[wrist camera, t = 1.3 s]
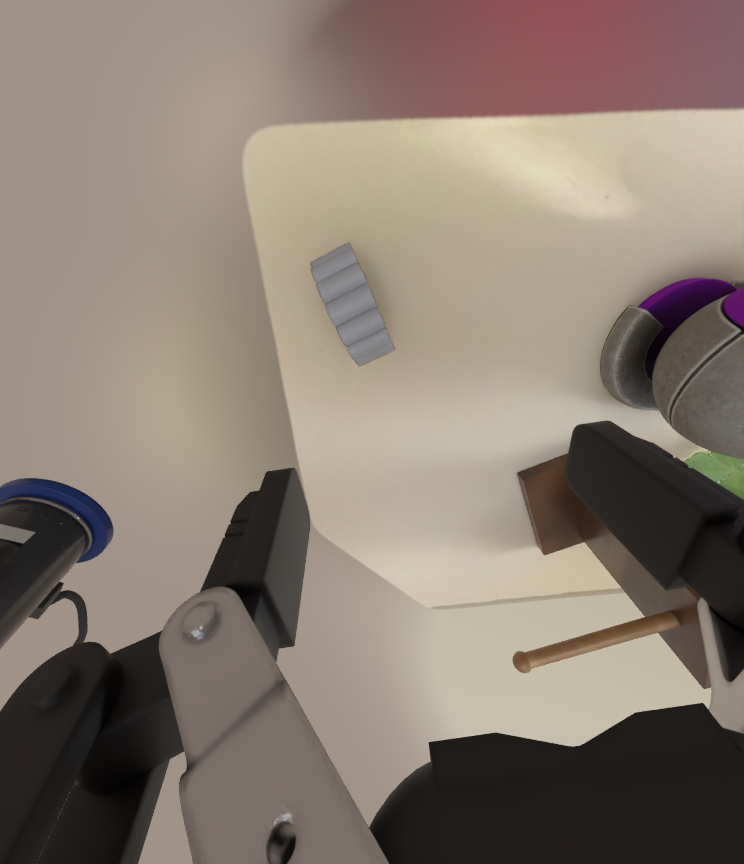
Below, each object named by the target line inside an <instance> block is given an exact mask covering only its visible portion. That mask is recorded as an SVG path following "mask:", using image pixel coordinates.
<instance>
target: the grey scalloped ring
mask: <svg viewBox="0 0 744 864" xmlns="http://www.w3.org/2000/svg"><path fill="white" fill-rule="evenodd" d="M311 267H312V268H311V272H312V275H313V277H314V279H315V281H316V286H317V289H318V291H319V294H320V296H321V298H322V300H323V301H324V303H325V307H326V310H327V312H328V314H329V316H330V318H331V320H332V322H333V324H334V325H335V327H336V329H337V332H338V334H339V336H340V338H341V340H342V342H343V344H344V345H345V346H346V347H347V349H348V351H349V353H350V355H351V357H352V359H353V360H355V361H356V363H357V365H358V366H359V367H360V366H362V365H364V364H366V363H369V362H371V361H373V360H375V359H377V358H379V357H381V356H384V355H386V354H388V353H390V352H392V351H394V350H395V347H394V345H393V343H392V340H391V337H390V335H389V333H388V330H387V328H386V326H385V323H384V321H383V318H382V316H381V314H380V311H379V309H378V307H377V304H376V302H375V299H374V297H373V295H372V292H371V290H370V288H369V286H368V283H367V281H366V279H365V276H364V274H363V272H362V269H361V267H360V265H359V263H358V260H357V258H356V256H355V253H354V251H353V249H352V247H351V245H350V243H349V242H348V243H346V244H344V245H342V246H341V247H339V248H337V249H335V250H333V251H331V252H329V253H328V254H326V255H324V256H322V257H320V258H318V259H316V260H315V261H313V262H311Z"/></svg>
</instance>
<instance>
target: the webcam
mask: <svg viewBox="0 0 744 864" xmlns="http://www.w3.org/2000/svg"><path fill="white" fill-rule="evenodd" d="M601 375H602V379H603V382H604V385H605V387H606V389H607V390H608V392H609V393H610V394H611V395H612V396H613V397H614V398H616V399H617V400H619V401H621V402H623V403H624V404H626V405H628V406H631V407H634V408H637V409H643V410H660V412H661V414H662V416H663V417H664V418H665V420H666V421H667V422H668V423H669V425H670V426H671V427H672V428H673V429H674V430H676V432H678V433H679V434H680V435H682V436H683V437H685V438H686V439H688V440H690V441H691V442H693V443H695V444H696V445H698V446H701V447H703V448H705V449H708V450H710V451H712V452H715V453H719V454H722V455H726V456H729V457H733V458H738V459H743V460H744V281H734V282H733V283H732V284H729V283H728V282H725V281H721V280H717V279H703V278H695V279H688V280H683V281H680V282H677V283H674V284H672V285H670V286H668V287H666V288H664V289H662V290H660V291H659V292H657V293H655V294H654V295H652V296H651V297H650V298H648V299H647V300H646V301H645V302H644V303H643V304H641V305H640V306H639V307H634V306H629V307H628V308H627V309H626V311H625V312H624V313H623V314H622V316H621V317H620V318H619V319H618V321H617V323H616V324H615V326H614V327H613V329H612V331H611V333H610V335H609V337H608V339H607V341H606V344H605V347H604V350H603V354H602V361H601Z"/></svg>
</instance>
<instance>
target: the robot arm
mask: <svg viewBox="0 0 744 864" xmlns="http://www.w3.org/2000/svg"><path fill="white" fill-rule="evenodd" d="M565 477H566V481H567V483H568V485H569V487H570V489H571V490H572V491H573V492H574V493H575V495H576V496H577V497H578V498H579V499H580V500H581V501H582V502H583V503H584V504H585V505H586V506H587V507H588V508H589V509H590V510H591V512H592V513H593V514H594V515H595V516H596V517H597V518H598V519H599V520H600V521H601V522H602V523H603V524H604V525H605V526H606V527H607V529H608V530H609V531H610V532H611V533H612V534H613V535H614V536H615V537H616V538H617V539H618V540H619V541H620V542H621V543H622V545H623V546H624V547H625V548H626V549H627V550H628V551H629V552H630V553H631V554H632V555H633V556H634V557H635V558H636V559H637V560H638V562H639V563H640V564H641V565H642V566H643V567H644V568H645V569H646V570H647V571H648V572H649V573H650V574H651V575H652V576H653V577H654V579H655V580H656V581H657V582H658V583H659V584H660V585H661V586H662V587H663V588H664V589H665V590H673V589H680V588H687V587H692V588H693V589H694V590H695V591H696V592H697V593H698V594H699V595H700V596H701V597H700V599H699V600H698V604H697V606H698V613H699V619H700V625H701V630H702V636H703V642H704V647H705V653H706V659H707V664H708V670H709V676H710V681H711V690H712V694H711V703H710V706H709V710H708V709H707V707H706V706H705V705H704V704H703V703H700V704H693V705H686V706H679V707H672V708H665V709H658V710H651V711H644V712H637V713H634V714H633V715H631V716H629V717H627V718H626V719H624V720H622V721H621V722H619V723H618V724H616V725H614V726H613V727H611V728H609V729H608V730H606V731H604V732H603V733H601V734H599V735H598V736H596V737H595V738H593V739H591V740H590V741H588V742H586V743H585V744H583V745H581V746H575V747H571V746H564V745H559V744H554V743H548V742H543V741H537V740H532V739H526V738H521V737H516V736H511V735H506V734H500V733H490V734H483V735H476V736H469V737H462V738H456V739H448V740H442V741H434V742H429V750H430V759H431V762H429V763H427V764H425V765H423V766H422V767H420V768H418V769H416V770H415V771H414V772H413V773H412V774H410V775H409V776H408V777H407V778H405V779H404V780H403V781H402V782H401V783H400V784H399V785H398V787H397V788H396V789H395V790H394V791H393V792H392V793H391V794H390V795H389V797H388V798H387V799H386V801H385V802H384V804H383V805H382V807H381V808H380V810H379V811H378V812H377V814H376V816H375V818H374V819H373V821H372V823H371V825H370V827H368V825H367V824H366V822H365V820H364V818H363V816H362V815H361V813H360V811H359V809H358V807H357V806H356V804H355V802H354V800H353V798H352V797H351V795H350V793H349V791H348V790H347V788H346V786H345V784H344V783H343V781H342V779H341V777H340V775H339V773H338V772H337V770H336V768H335V766H334V765H333V763H332V761H331V759H330V757H329V756H328V754H327V752H326V750H325V748H324V747H323V745H322V743H321V741H320V740H319V738H318V736H317V734H316V732H315V731H314V729H313V727H312V725H311V724H310V722H309V720H308V718H307V716H306V715H305V713H304V711H303V709H302V707H301V706H300V704H299V702H298V700H297V699H296V697H295V695H294V693H293V691H292V690H291V688H290V686H289V684H288V683H287V681H286V680H285V678H284V676H283V674H282V673H281V671H280V669H279V667H278V665H277V664H276V661H277V655H278V650H279V648H285V647H293V646H294V645H295V637H296V630H297V622H298V615H299V607H300V599H301V592H302V585H303V577H304V570H305V562H306V555H307V547H308V540H309V532H310V516H309V510H308V506H307V503H306V500H305V497H304V493H303V490H302V487H301V483H300V480H299V477H298V474H297V472H296V469H295V468H288V469H281V470H275V471H268V472H267V473H266V474H265V477H264V479H263V482H262V485H261V488H260V490H259V491H254V492H250V493H249V494H248V495H247V496H246V497H245V498H244V499H243V500H242V501H241V503H240V504H239V505H238V506H237V507H236V510H235V512H234V514H233V517H232V519H231V524H230V525H229V526H228V528H227V531H226V533H225V538H223V540H222V542H221V545H220V547H219V549H218V552H217V554H216V556H215V559H214V561H213V564H212V565H211V568H210V570H209V572H208V575H207V577H206V579H205V582H204V584H203V586H202V589H201V591H200V592H199V593H197V594H196V595H194V596H192V597H191V598H189V599H188V600H187V601H185V602H184V603H183V604H182V605H181V606H180V607H179V608H178V609H177V610H176V611H175V612H174V613H173V614H172V615H171V617H170V618H169V620H168V621H167V623H166V624H165V626H164V628H163V630H162V631H160V632H158V633H156V634H154V635H152V636H150V637H148V638H145V639H143V640H141V641H139V642H136V643H134V644H132V645H129V646H127V647H125V648H123V649H120V650H118V651H116V652H114V653H111V654H110V653H109V652H108V651H107V650H106V649H105V648H104V647H103V646H101V645H100V644H99V643H96V642H85V643H83V642H84V640H85V637H86V634H87V611H86V606H85V603H84V600H83V599H82V598H81V596H80V595H78V594H77V593H75V592H73V591H68V590H67V591H62V592H60V591H61V589H62V586H63V584H64V583H62V582H59V581H60V580H61V579H62V578H63V577H64V576H65V575H66V574H67V572H68V571H69V570H70V569H71V568H72V567H73V566H74V564H75V563H76V562H77V561H78V560H79V559H80V558H81V556H83V555H84V554H85V553H86V552H87V551H88V550H89V549H90V548H91V546H92V545H93V542H94V531H93V529H92V527H91V525H90V523H89V522H88V521H87V520H86V519H85V518H84V517H83V516H82V515H81V514H80V513H79V512H77V511H76V510H74V509H73V508H71V507H70V506H68V505H66V504H64V503H61V502H59V501H56V500H53V499H50V498H47V497H42V496H35V495H20V496H14V497H11V498H8V499H6V500H4V501H3V502H1V503H0V649H1V648H2V647H3V646H4V644H5V643H6V642H7V641H8V640H9V639H10V638H11V636H12V635H13V634H14V633H15V632H16V631H17V630H18V628H19V627H20V626H21V625H22V624H23V623H24V622H25V620H26V619H27V618H28V617H31V618H35V619H38V618H39V617H40V616H41V615H42V614H43V613H44V611H45V610H46V609H47V608H48V607H49V606H50V605H52V604H54V603H55V602H57V601H59V600H61V599H63V598H67V599H69V600H71V601H73V602H74V604H75V606H76V608H77V612H78V621H79V636H78V638H77V640H76V642H75V643H74V645H73V646H72V647H69V648H67V649H65V650H63V651H62V652H59V653H58V654H56V655H55V656H53V657H51V658H50V659H49V660H47V661H46V662H45V663H43V664H42V665H41V666H39V667H38V668H37V669H36V670H35V671H34V672H33V673H31V674H30V675H29V676H28V677H27V678H26V679H25V680H24V681H23V683H22V684H21V685H20V686H19V687H18V688H17V689H16V691H15V692H14V693H13V694H12V696H11V697H10V698H9V700H8V701H7V703H6V704H5V705H4V707H3V709H2V710H1V711H0V864H138V861H139V858H140V855H141V852H142V849H143V845H144V842H145V839H146V836H147V832H148V829H149V826H150V823H151V819H152V816H153V813H154V809H155V806H156V803H157V799H158V796H159V793H160V790H161V786H162V783H163V780H164V777H165V774H166V770H167V767H168V763H169V760H170V759H171V758H173V757H175V756H176V755H178V754H180V753H182V752H184V751H185V756H186V760H187V769H186V772H185V773H183V774H182V776H181V778H180V783H179V794H180V803H181V809H182V814H183V818H184V823H185V828H186V832H187V837H188V841H189V846H190V851H191V855H192V860H193V864H744V500H743V499H742V498H740V497H738V496H737V495H735V494H734V493H732V492H731V491H729V490H727V489H726V488H724V487H723V486H721V485H719V484H718V483H716V482H715V481H713V480H711V479H710V478H708V477H707V476H705V475H703V474H702V473H700V472H699V471H697V470H695V469H694V468H689V467H688V465H687V464H686V463H684V462H683V461H681V460H679V459H678V458H673V455H671V454H670V453H668V452H667V451H665V450H663V449H662V448H660V447H659V446H657V445H655V444H654V443H651V442H648V441H646V440H643V439H640V438H638V437H635V436H633V435H631V434H630V433H628V432H627V431H625V430H624V429H622V428H620V427H619V426H617V425H616V424H614V423H613V422H611V421H600V422H594V423H587V424H580V425H577V426H576V427H575V428H574V430H573V433H572V438H571V443H570V448H569V453H568V457H567V462H566V467H565ZM70 791H71V792H70ZM69 793H70V794H69ZM68 795H69V796H68ZM67 797H68V798H67ZM66 799H67V800H66ZM61 810H62V811H61ZM60 812H61V813H60ZM59 814H60V815H59ZM58 816H59V817H58ZM57 818H58V819H57ZM52 829H53V830H52ZM51 831H52V832H51ZM50 833H51V834H50ZM49 835H50V836H49ZM48 837H49V838H48ZM44 846H45V847H44ZM43 848H44V849H43ZM42 850H43V851H42ZM41 852H42V853H41ZM40 854H41V855H40Z"/></svg>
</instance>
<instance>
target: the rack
mask: <svg viewBox="0 0 744 864" xmlns="http://www.w3.org/2000/svg"><path fill="white" fill-rule="evenodd" d="M567 457H568V454H567V455H564V456H561V457H559V458H556V459H553V460H551V461H548V462H546V463H543V464H540V465H538V466H535V467H533V468H530V469H527V470H525V471H522V472H519V473H518V477H519V480H520V484H521V487H522V491H523V494H524V498H525V501H526V505H527V508H528V512H529V515H530V519H531V522H532V526H533V529H534V533H535V536H536V540H537V543H538V547H539V548H540V550H541V552H542V553H543V555H547V554H550V553H553V552H556V551H559V550H562V549H565V548H568V547H571V546H574V545H577V544H580V543H583V542H585V543H586V544H587V546H588V547H589V548H590V549H591V551H592V552H593V553H594V554H595V556H596V557H597V558H598V559H599V560H600V562H601V563H602V564H603V565H604V567H605V568H606V569H607V570H608V572H609V573H610V574H611V575H612V577H613V578H614V579H615V580H616V581H617V583H618V584H619V585H620V586H621V588H622V589H623V590H624V591H625V593H626V594H627V595H628V596H629V597H630V599H631V600H632V601H633V602H634V604H635V605H636V606H637V607H638V609H639V610H640V611H641V612H642V613H643V615H644V616H645V617H644V618H641V619H637V620H634V621H630V622H627V623H624V624H620V625H617V626H613V627H610V628H607V629H603V630H600V631H596V632H593V633H590V634H586V635H583V636H579V637H576V638H573V639H569V640H566V641H562V642H559V643H555V644H553V645H549V646H546V647H542V648H539V649H536V650H532V651H528V652H522V651H519V652H516V653H515V654H514V656H513V664H514V666H515V668H516V669H517V670H518V671H520V672H522V673H528V672H530V670H531V669H532V668H535V667H539V666H542V665H546V664H549V663H553V662H556V661H560V660H563V659H566V658H570V657H574V656H577V655H581V654H584V653H587V652H591V651H594V650H598V649H601V648H605V647H609V646H612V645H616V644H619V643H623V642H626V641H629V640H633V639H636V638H640V637H644V636H647V635H651V634H654V633H659V634H660V636H661V637H662V638H663V639H664V641H665V642H666V643H667V644H668V645H669V647H670V648H671V649H672V650H673V652H674V653H675V654H676V655H677V657H678V658H679V659H680V660H681V661H682V663H683V664H684V665H685V666H686V668H687V669H688V670H689V671H690V672H691V674H692V675H693V676H694V678H695V679H696V680H697V681H698V682H699V684H700V685H701V686H702V687H703V688H704V689H706V688H710V687H711V681H710V676H709V670H708V664H707V659H706V653H705V647H704V642H703V636H702V630H701V625H700V619H699V613H698V606H697V604H698V600H699V599H700V597H701V596H700V595H699V594H698V593H697V592H696V591H695V590H694V589H693V588H692V587H687V588H680V589H673V590H665V589H664V588H663V587H662V586H661V585H660V584H659V583H658V582H657V581H656V580H655V579H654V577H653V576H652V575H651V574H650V573H649V572H648V571H647V570H646V569H645V568H644V567H643V566H642V565H641V564H640V563H639V562H638V560H637V559H636V558H635V557H634V556H633V555H632V554H631V553H630V552H629V551H628V550H627V549H626V548H625V547H624V546H623V545H622V543H621V542H620V541H619V540H618V539H617V538H616V537H615V536H614V535H613V534H612V533H611V532H610V531H609V530H608V529H607V527H606V526H605V525H604V524H603V523H602V522H601V521H600V520H599V519H598V518H597V517H596V516H595V515H594V514H593V513H592V512H591V510H590V509H589V508H588V507H587V506H586V505H585V504H584V503H583V502H582V501H581V500H580V499H579V498H578V497H577V496H576V495H575V493H574V492H573V491H572V490H571V489H570V487H569V485H568V483H567V481H566V477H565V467H566V462H567Z"/></svg>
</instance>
